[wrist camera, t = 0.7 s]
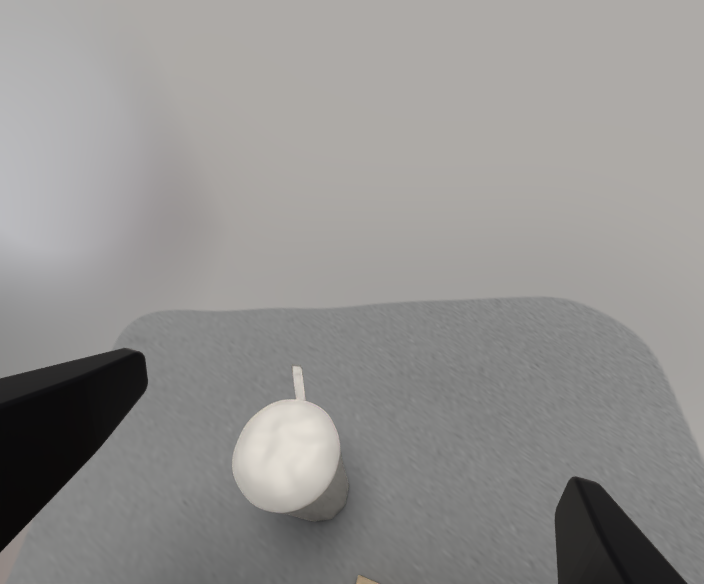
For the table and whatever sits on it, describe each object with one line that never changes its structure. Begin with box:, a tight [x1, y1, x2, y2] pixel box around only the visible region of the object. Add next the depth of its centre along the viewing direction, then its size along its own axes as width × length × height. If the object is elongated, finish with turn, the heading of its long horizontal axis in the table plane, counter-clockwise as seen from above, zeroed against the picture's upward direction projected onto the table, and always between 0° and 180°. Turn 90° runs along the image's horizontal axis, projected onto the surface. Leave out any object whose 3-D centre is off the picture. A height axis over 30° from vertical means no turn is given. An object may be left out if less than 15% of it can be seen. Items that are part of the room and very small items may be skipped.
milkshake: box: [232, 364, 349, 522], centre depth 19 cm, size 4×5×10 cm
